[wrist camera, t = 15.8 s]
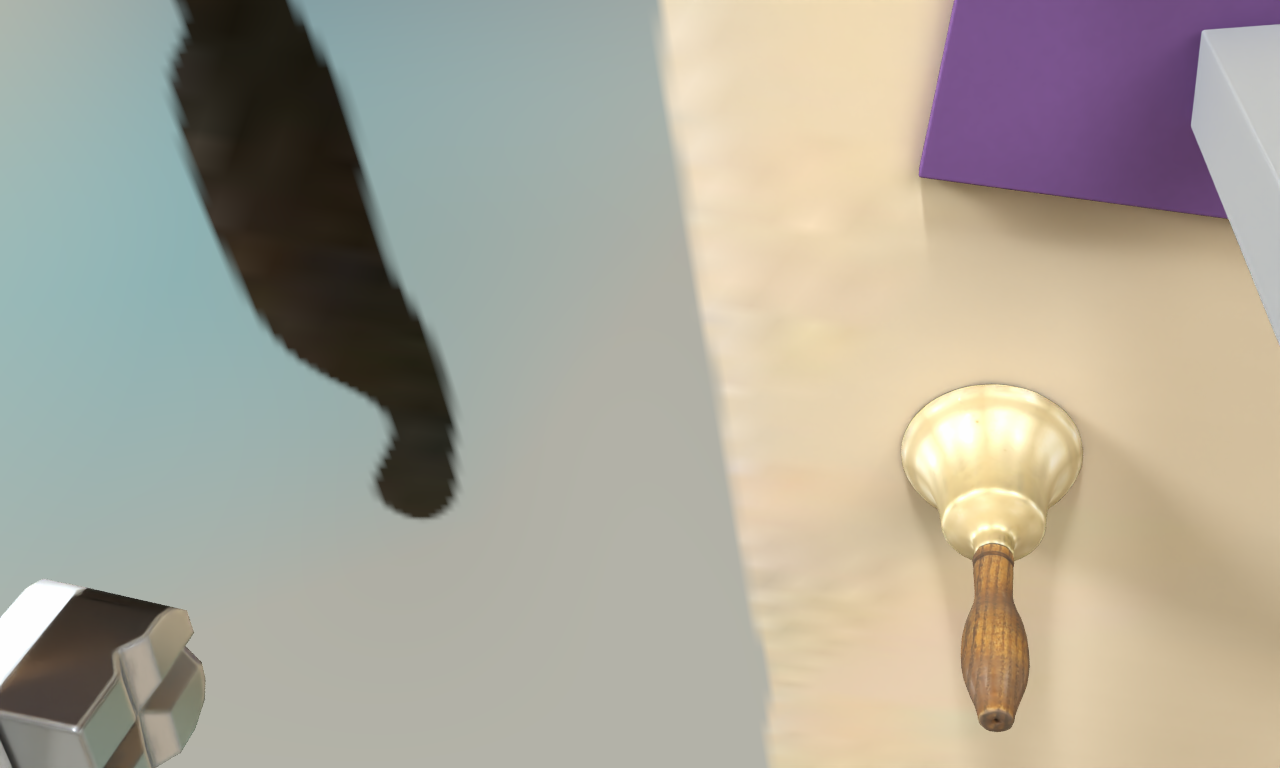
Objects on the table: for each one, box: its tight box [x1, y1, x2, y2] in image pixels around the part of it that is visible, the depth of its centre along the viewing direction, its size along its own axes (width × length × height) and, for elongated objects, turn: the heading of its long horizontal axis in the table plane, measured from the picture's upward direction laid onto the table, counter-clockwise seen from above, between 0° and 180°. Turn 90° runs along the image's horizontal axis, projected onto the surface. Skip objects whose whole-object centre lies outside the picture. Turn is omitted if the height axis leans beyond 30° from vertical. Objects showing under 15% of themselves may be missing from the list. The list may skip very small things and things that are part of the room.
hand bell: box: [901, 384, 1083, 732], centre depth 50 cm, size 8×8×16 cm
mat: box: [919, 0, 1280, 219], centre depth 44 cm, size 12×22×1 cm, turn 87°
